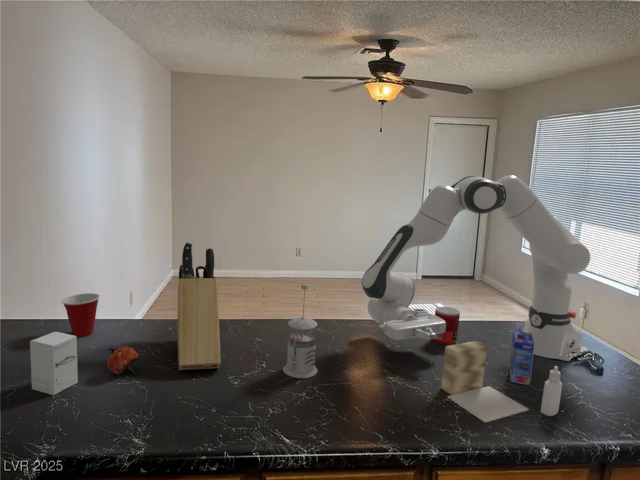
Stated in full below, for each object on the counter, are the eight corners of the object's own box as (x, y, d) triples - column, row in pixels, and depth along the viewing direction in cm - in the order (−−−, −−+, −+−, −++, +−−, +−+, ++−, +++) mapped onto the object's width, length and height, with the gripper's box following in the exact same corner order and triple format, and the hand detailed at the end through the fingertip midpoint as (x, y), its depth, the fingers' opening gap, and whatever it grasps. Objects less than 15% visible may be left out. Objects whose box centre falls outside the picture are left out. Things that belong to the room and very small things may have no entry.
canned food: (457, 347, 159) (460, 315, 157) (432, 343, 161) (435, 312, 159) (455, 338, 167) (459, 308, 165) (432, 335, 168) (435, 305, 166)
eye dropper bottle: (533, 407, 122) (540, 363, 120) (553, 406, 123) (559, 362, 121) (545, 417, 118) (552, 371, 116) (565, 415, 119) (572, 370, 117)
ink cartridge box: (507, 368, 145) (513, 322, 143) (527, 371, 143) (534, 325, 141) (509, 382, 136) (515, 333, 133) (530, 386, 134) (537, 336, 132)
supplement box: (53, 396, 115) (51, 346, 113) (31, 389, 117) (28, 340, 115) (79, 383, 122) (77, 335, 119) (56, 377, 124) (55, 330, 122)
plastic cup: (70, 327, 158) (69, 291, 156) (105, 327, 159) (104, 292, 157) (56, 339, 147) (55, 301, 145) (93, 340, 148) (92, 302, 146)
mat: (488, 387, 132) (489, 386, 132) (528, 410, 121) (528, 409, 121) (447, 397, 125) (447, 396, 125) (485, 422, 114) (485, 421, 114)
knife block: (211, 327, 164) (213, 238, 159) (221, 373, 131) (223, 262, 126) (177, 329, 161) (177, 238, 156) (178, 376, 128) (178, 263, 123)
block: (471, 381, 135) (475, 340, 133) (482, 387, 132) (487, 346, 129) (441, 388, 130) (445, 346, 128) (451, 395, 126) (456, 352, 124)
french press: (323, 367, 138) (328, 283, 134) (305, 383, 128) (310, 293, 124) (293, 359, 142) (297, 277, 138) (273, 375, 132) (276, 286, 128)
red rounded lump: (141, 375, 132) (118, 349, 134) (151, 360, 129) (128, 333, 130) (119, 389, 126) (95, 361, 128) (129, 374, 122) (105, 345, 124)
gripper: (376, 315, 147) (404, 331, 135) (428, 308, 157) (459, 322, 145) (375, 335, 149) (402, 352, 137) (427, 327, 158) (456, 342, 146)
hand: (432, 336), depth 141 cm, fingers closed
